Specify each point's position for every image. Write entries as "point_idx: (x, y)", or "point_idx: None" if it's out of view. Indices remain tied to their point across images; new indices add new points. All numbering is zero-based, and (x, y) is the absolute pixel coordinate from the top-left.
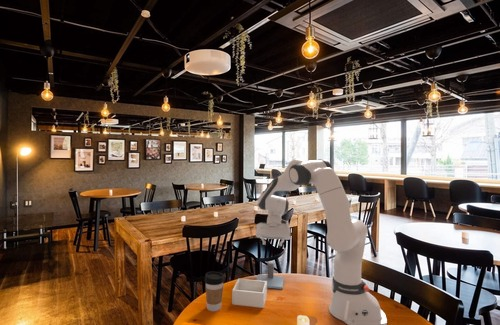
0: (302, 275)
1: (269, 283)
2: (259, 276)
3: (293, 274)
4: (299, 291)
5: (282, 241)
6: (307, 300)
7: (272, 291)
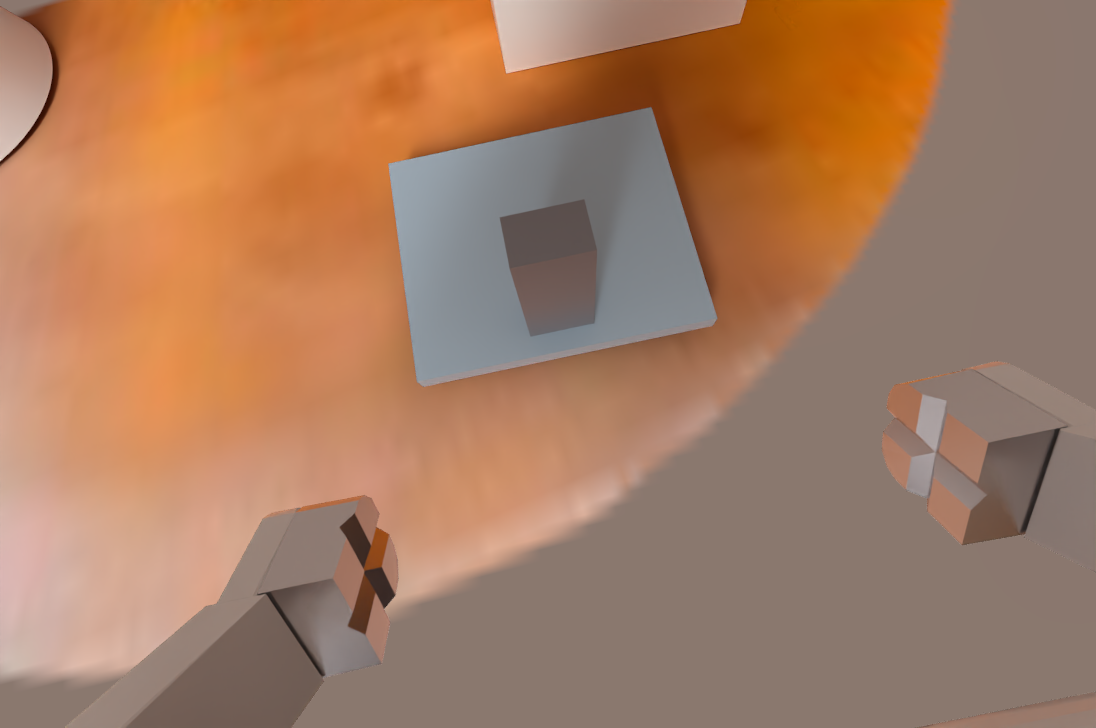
0: None
1: (523, 176)
2: (678, 274)
3: None
4: (258, 241)
5: (182, 630)
6: (194, 138)
7: None
